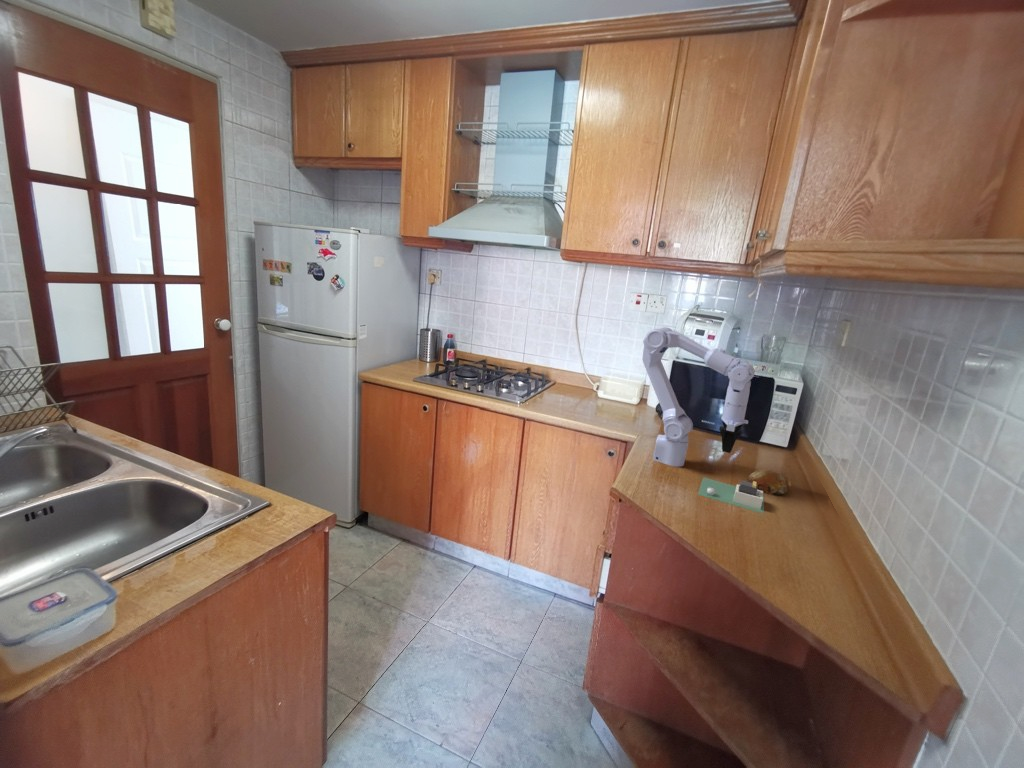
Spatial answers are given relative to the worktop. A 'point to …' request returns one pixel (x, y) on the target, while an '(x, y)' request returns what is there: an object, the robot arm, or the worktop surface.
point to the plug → (748, 487)
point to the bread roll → (769, 482)
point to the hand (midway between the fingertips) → (727, 447)
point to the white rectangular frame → (748, 498)
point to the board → (723, 493)
